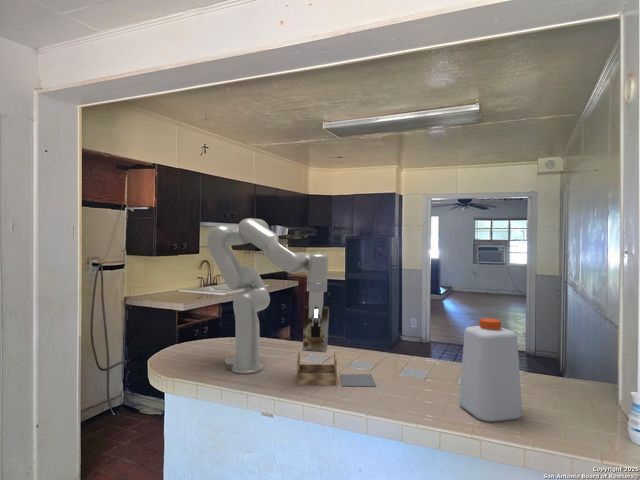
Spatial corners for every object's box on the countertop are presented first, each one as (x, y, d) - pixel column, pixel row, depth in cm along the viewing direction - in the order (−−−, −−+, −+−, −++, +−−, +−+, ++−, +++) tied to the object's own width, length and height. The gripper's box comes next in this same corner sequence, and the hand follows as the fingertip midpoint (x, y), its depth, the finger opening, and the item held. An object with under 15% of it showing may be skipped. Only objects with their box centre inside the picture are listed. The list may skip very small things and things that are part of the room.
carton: (297, 385, 144) (297, 360, 144) (298, 374, 156) (298, 351, 156) (336, 385, 145) (336, 360, 144) (335, 374, 156) (335, 351, 156)
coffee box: (301, 351, 148) (303, 307, 147) (304, 346, 154) (305, 304, 154) (326, 352, 147) (328, 309, 147) (328, 348, 153) (329, 305, 153)
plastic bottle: (528, 420, 117) (529, 324, 117) (482, 424, 114) (483, 326, 114) (495, 399, 132) (496, 314, 132) (454, 403, 129) (454, 316, 129)
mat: (342, 386, 143) (342, 385, 143) (340, 375, 155) (340, 374, 155) (375, 386, 143) (375, 385, 143) (371, 375, 155) (371, 374, 155)
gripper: (307, 283, 159) (306, 329, 159) (306, 289, 141) (304, 340, 142) (326, 284, 159) (325, 329, 159) (327, 290, 141) (326, 341, 142)
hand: (315, 334), depth 150 cm, fingers closed on coffee box, 6 cm apart
